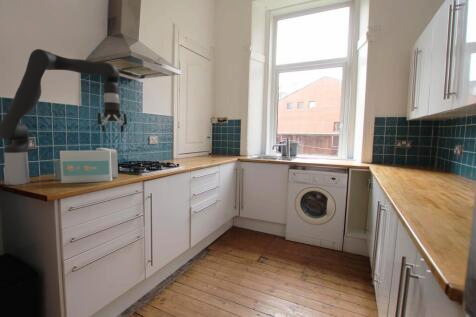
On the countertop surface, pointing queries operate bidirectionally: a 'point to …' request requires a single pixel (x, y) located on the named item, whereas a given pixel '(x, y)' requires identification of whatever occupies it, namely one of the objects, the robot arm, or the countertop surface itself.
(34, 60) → the robot arm
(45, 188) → the countertop surface
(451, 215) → the countertop surface
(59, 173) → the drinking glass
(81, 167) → the panel
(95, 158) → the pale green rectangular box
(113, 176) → the rounded white slab
